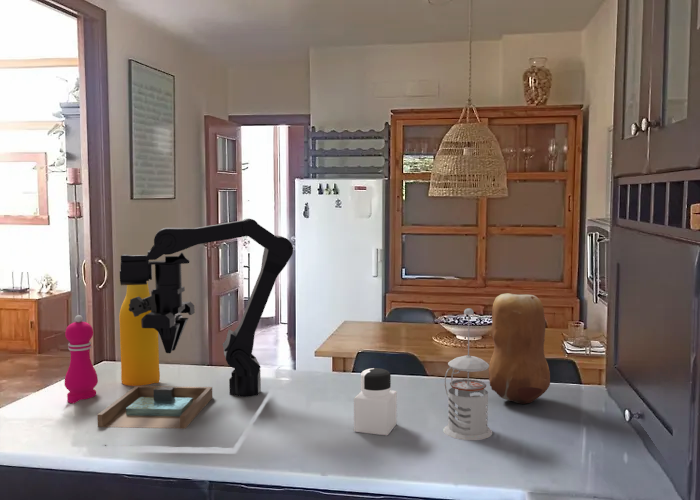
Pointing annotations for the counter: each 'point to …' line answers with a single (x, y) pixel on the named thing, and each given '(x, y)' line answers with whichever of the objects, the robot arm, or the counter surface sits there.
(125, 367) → the yellow bottle
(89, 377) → the pepper mill
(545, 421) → the counter surface
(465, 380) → the french press
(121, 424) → the walnut box
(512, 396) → the butternut squash
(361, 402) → the medicine bottle
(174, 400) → the cover plate
